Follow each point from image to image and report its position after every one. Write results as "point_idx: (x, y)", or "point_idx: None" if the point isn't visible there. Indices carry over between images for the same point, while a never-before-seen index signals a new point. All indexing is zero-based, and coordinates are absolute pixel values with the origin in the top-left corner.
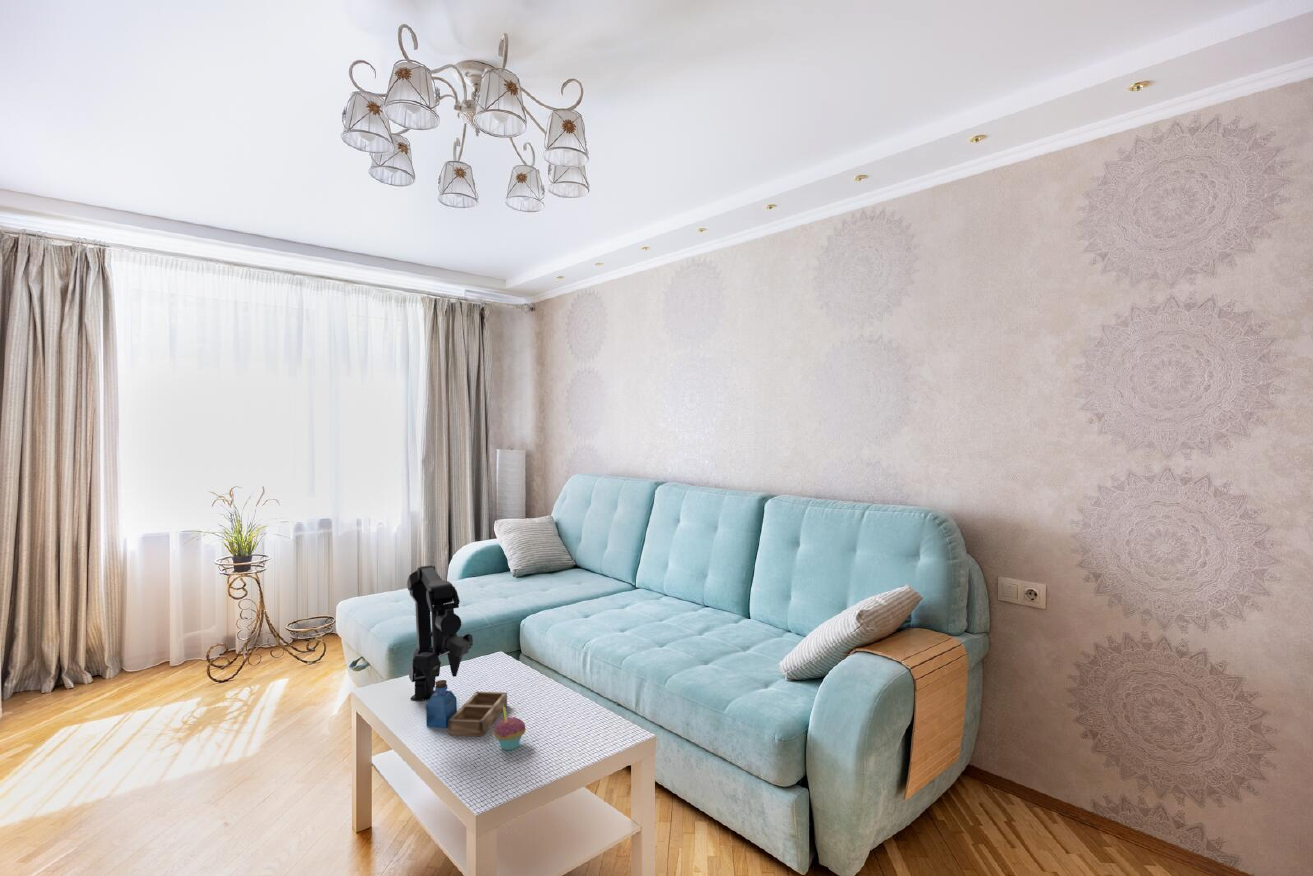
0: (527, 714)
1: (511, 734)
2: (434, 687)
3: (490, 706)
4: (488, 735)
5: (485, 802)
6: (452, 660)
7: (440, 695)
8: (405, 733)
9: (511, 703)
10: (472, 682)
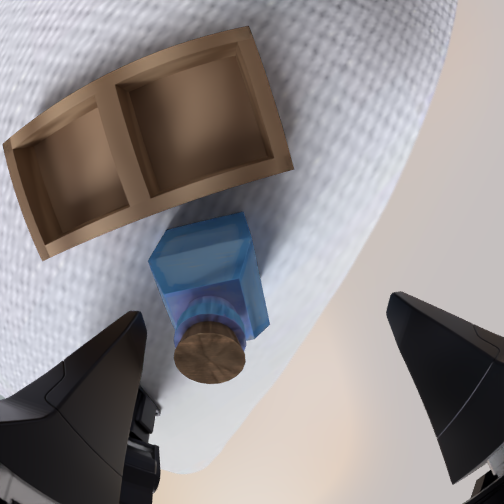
0: (60, 36)
1: None
2: (394, 293)
3: (105, 96)
4: None
5: None
6: (105, 444)
7: (234, 304)
8: (316, 303)
9: None
10: (15, 343)
